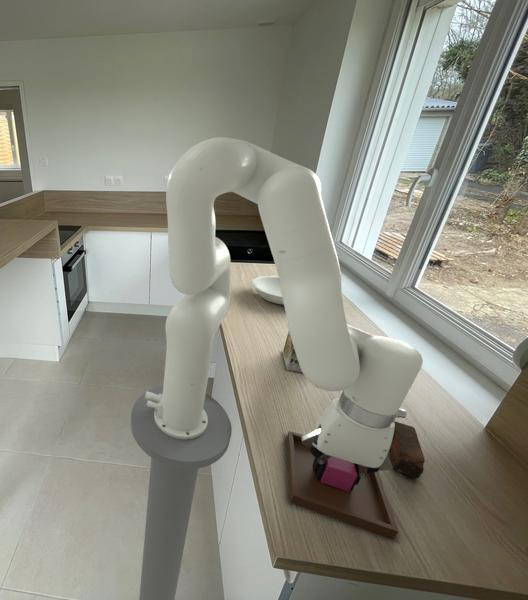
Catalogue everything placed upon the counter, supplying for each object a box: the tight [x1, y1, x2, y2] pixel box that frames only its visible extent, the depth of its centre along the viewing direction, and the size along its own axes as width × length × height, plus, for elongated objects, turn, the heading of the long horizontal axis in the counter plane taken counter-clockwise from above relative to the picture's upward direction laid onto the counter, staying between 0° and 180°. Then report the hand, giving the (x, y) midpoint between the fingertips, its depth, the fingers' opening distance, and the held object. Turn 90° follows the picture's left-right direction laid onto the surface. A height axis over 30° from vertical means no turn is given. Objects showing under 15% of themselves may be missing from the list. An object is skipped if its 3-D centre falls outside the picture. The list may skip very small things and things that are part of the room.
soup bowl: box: [250, 274, 284, 305], centre depth 135 cm, size 24×24×7 cm
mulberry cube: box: [321, 456, 357, 492], centre depth 61 cm, size 5×5×5 cm
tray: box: [286, 430, 399, 540], centre depth 61 cm, size 16×16×2 cm
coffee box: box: [282, 330, 303, 373], centre depth 93 cm, size 9×6×16 cm
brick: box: [389, 420, 426, 480], centre depth 66 cm, size 11×4×5 cm, turn 151°
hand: (332, 477), depth 62 cm, fingers closed on mulberry cube, 4 cm apart
